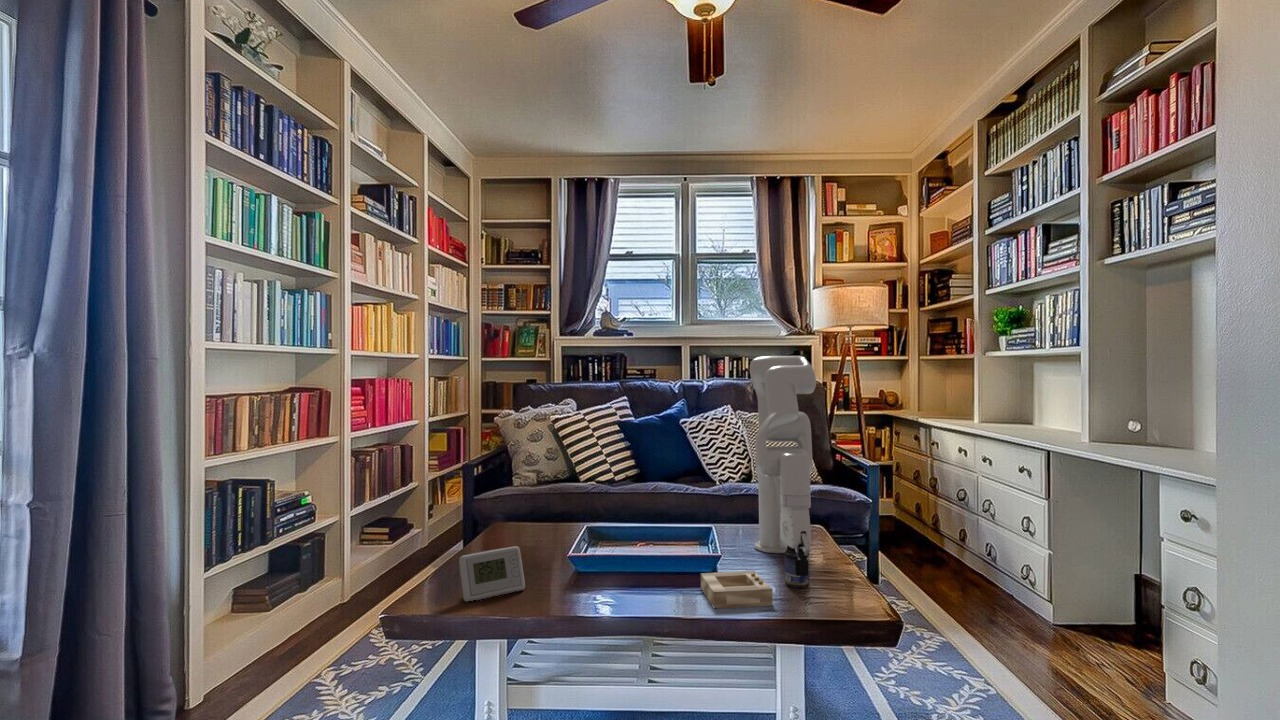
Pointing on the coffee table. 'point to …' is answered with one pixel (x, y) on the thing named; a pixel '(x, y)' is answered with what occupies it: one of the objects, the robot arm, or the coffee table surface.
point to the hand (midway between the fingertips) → (796, 570)
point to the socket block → (736, 589)
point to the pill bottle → (790, 575)
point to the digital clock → (491, 573)
